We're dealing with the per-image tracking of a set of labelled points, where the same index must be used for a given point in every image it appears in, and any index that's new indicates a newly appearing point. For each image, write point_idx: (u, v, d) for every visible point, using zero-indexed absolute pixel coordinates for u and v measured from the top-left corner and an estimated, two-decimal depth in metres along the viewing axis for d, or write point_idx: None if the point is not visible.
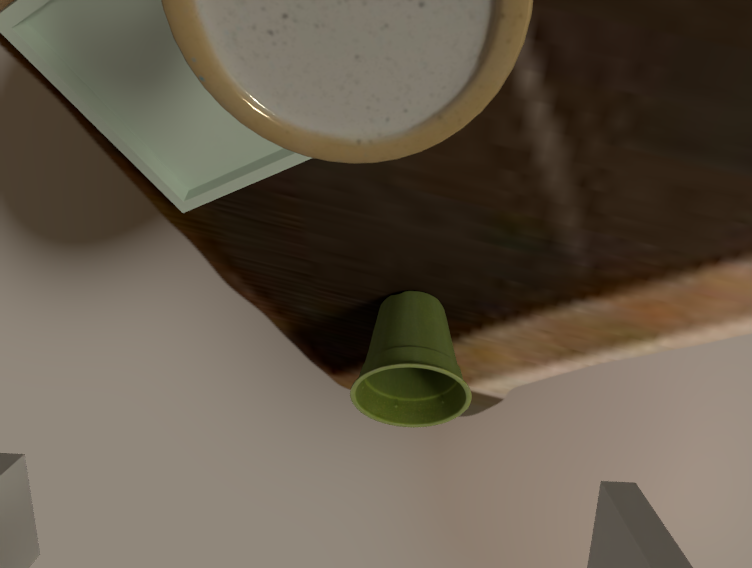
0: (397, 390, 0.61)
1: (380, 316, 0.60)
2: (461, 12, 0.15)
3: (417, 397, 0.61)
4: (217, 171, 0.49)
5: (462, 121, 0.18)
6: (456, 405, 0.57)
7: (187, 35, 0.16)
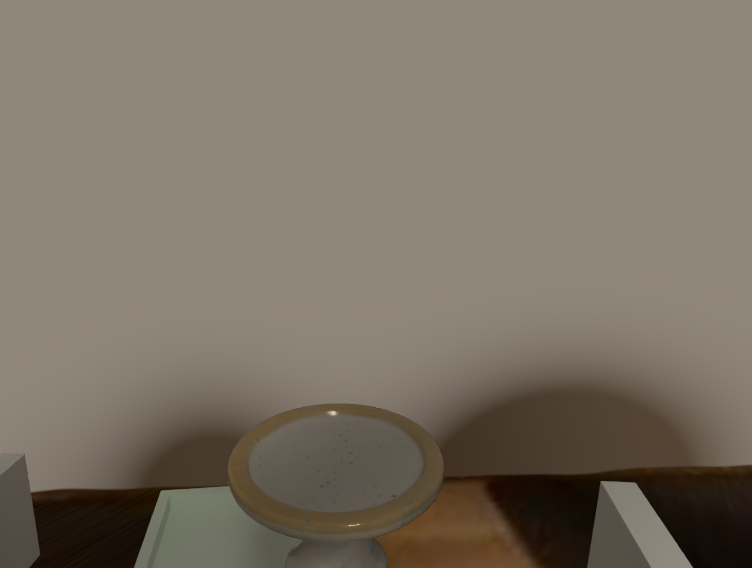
0: None
1: None
2: (306, 499, 0.24)
3: None
4: (168, 534, 0.53)
5: (237, 479, 0.25)
6: None
7: (358, 407, 0.31)
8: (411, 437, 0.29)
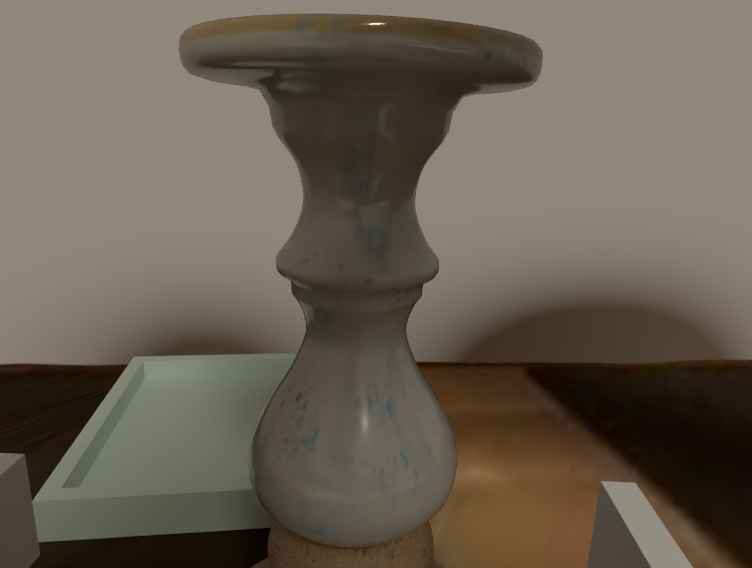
0: None
1: None
2: None
3: None
4: (139, 399, 0.43)
5: None
6: None
7: None
8: None
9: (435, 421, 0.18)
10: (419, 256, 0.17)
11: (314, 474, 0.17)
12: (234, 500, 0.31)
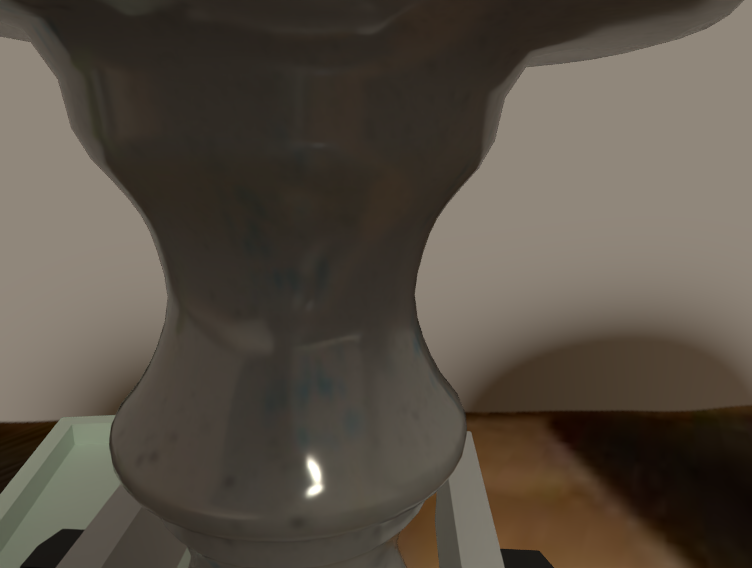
0: None
1: None
2: None
3: None
4: (60, 478, 0.34)
5: None
6: None
7: None
8: None
9: None
10: (427, 429, 0.07)
11: None
12: None
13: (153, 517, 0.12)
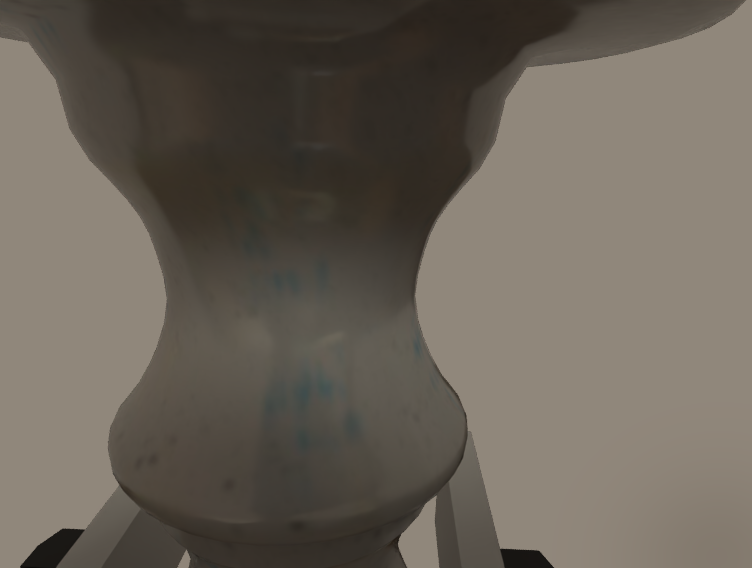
0: None
1: None
2: None
3: None
4: None
5: None
6: None
7: None
8: None
9: None
10: (427, 432, 0.07)
11: None
12: None
13: (153, 517, 0.12)
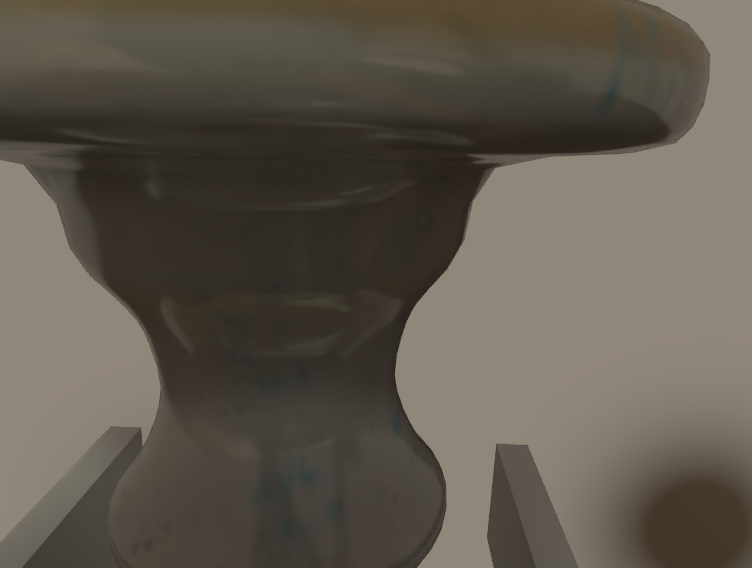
0: None
1: None
2: None
3: None
4: None
5: None
6: None
7: None
8: None
9: None
10: (406, 510, 0.08)
11: None
12: None
13: (77, 531, 0.11)
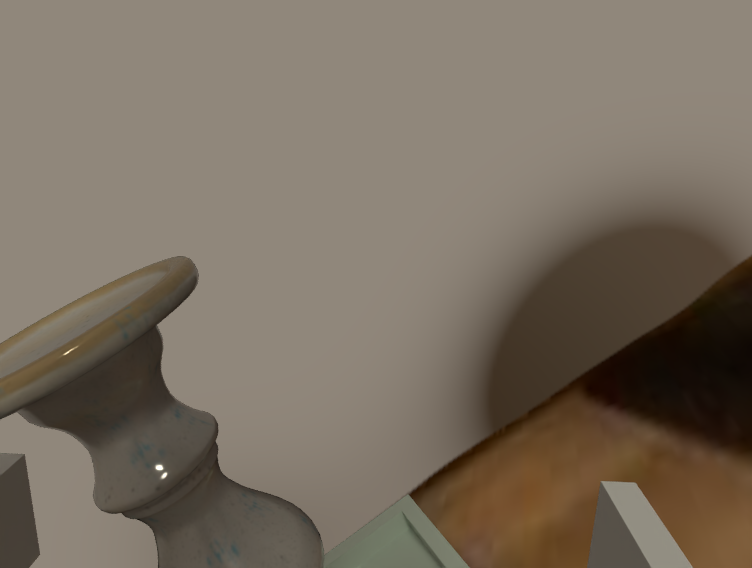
0: None
1: None
2: None
3: None
4: None
5: None
6: None
7: (108, 284, 0.25)
8: (162, 271, 0.23)
9: (280, 531, 0.23)
10: (191, 440, 0.21)
11: None
12: None
13: None
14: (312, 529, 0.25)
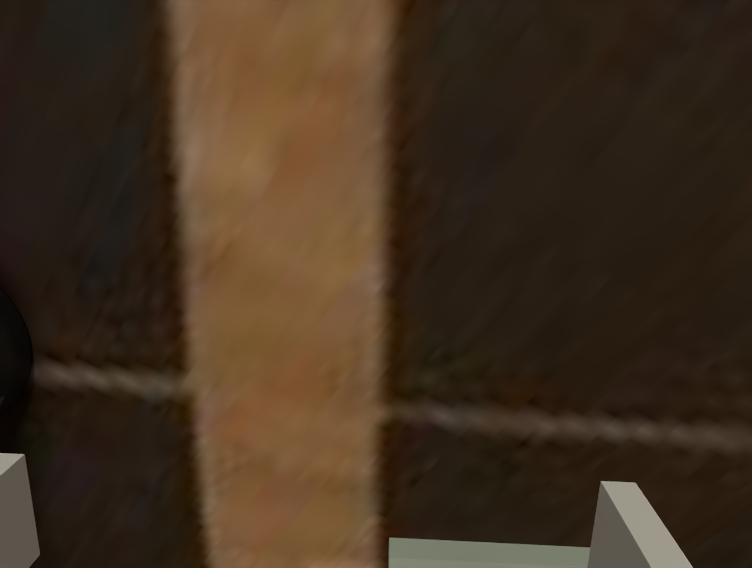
0: None
1: None
2: None
3: None
4: None
5: None
6: None
7: None
8: None
9: None
10: None
11: None
12: (489, 557, 0.50)
13: None
14: None
